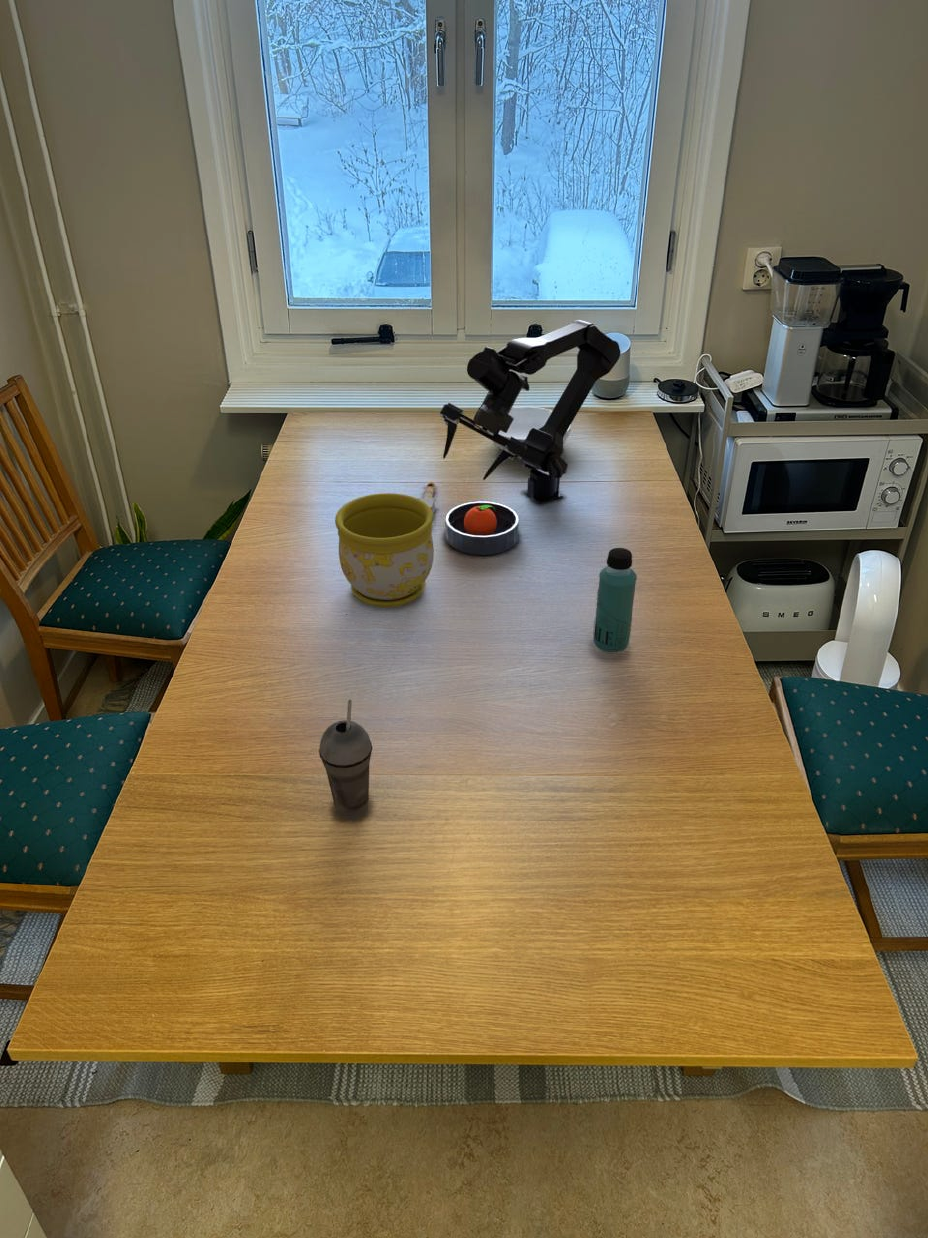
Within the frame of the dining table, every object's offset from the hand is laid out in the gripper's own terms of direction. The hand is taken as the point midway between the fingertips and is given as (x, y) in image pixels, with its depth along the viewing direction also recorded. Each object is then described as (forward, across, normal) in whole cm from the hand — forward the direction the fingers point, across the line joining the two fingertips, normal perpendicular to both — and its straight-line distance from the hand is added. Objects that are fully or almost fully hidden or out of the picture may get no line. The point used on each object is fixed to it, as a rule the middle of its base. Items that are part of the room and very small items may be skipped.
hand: (463, 468), depth 187 cm
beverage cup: (+54, +10, -61) cm, 82 cm away
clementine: (+10, +10, +6) cm, 15 cm away
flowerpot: (+28, -2, -12) cm, 30 cm away
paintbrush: (+11, -3, +17) cm, 20 cm away
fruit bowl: (+10, +10, +6) cm, 16 cm away
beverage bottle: (+18, +38, -29) cm, 51 cm away
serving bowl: (-15, +11, +44) cm, 48 cm away
